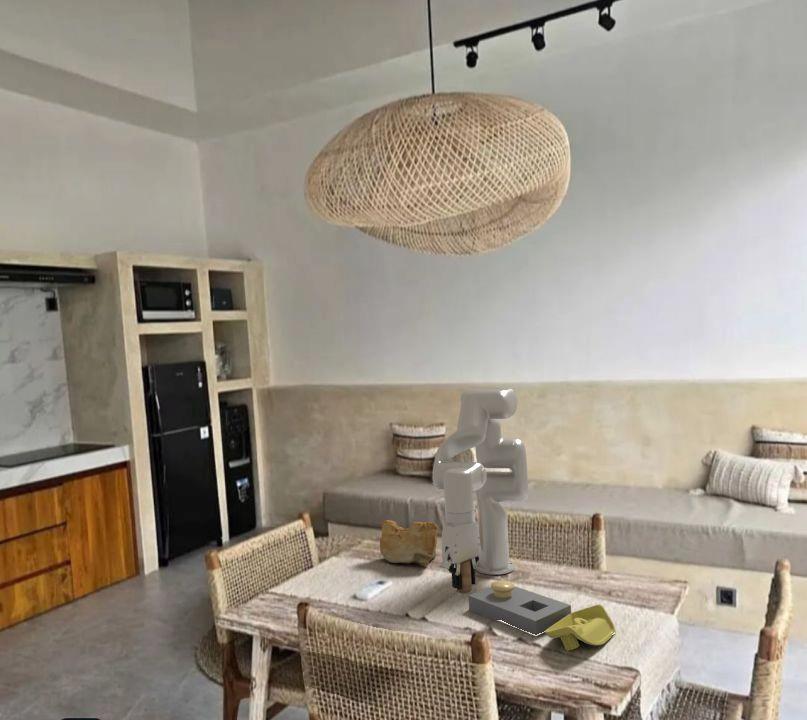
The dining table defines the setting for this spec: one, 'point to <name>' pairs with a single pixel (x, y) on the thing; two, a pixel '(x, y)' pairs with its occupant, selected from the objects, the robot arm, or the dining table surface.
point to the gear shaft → (465, 577)
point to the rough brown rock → (409, 542)
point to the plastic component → (583, 627)
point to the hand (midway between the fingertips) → (463, 585)
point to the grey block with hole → (518, 607)
